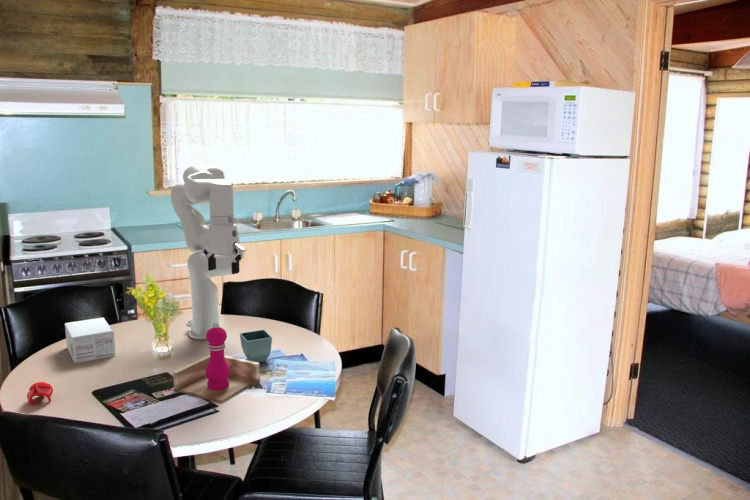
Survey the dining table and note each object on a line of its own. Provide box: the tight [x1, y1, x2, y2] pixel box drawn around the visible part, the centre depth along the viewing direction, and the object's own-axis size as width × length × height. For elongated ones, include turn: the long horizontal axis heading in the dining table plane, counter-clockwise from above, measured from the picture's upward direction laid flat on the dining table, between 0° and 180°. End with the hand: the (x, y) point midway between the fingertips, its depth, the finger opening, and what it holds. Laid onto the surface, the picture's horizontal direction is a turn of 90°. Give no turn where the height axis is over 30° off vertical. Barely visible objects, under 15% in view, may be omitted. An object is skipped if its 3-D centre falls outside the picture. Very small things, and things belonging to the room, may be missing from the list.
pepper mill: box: [205, 323, 230, 391], centre depth 186 cm, size 7×7×20 cm
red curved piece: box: [26, 381, 54, 406], centre depth 178 cm, size 8×6×6 cm
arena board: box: [173, 374, 261, 404], centre depth 191 cm, size 18×18×1 cm
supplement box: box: [64, 317, 116, 364], centre depth 216 cm, size 17×13×9 cm
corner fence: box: [172, 354, 261, 389], centre depth 190 cm, size 18×18×5 cm
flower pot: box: [239, 329, 273, 363], centre depth 210 cm, size 9×9×9 cm
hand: (223, 271), depth 207 cm, fingers open, 9 cm apart
